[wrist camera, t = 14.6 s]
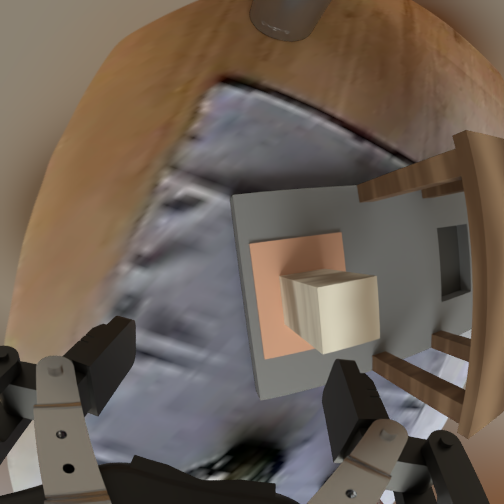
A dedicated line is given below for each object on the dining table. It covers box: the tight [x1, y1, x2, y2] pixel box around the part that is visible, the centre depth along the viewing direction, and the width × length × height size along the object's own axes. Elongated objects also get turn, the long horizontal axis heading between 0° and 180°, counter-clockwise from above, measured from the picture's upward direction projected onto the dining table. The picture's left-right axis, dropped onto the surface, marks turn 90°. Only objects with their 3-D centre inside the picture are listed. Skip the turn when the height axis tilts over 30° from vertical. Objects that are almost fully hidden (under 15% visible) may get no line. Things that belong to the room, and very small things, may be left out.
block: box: [279, 269, 380, 354], centre depth 26 cm, size 5×5×10 cm
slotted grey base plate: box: [230, 185, 473, 400], centre depth 35 cm, size 36×22×3 cm, turn 97°
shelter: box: [357, 130, 504, 439], centre depth 26 cm, size 12×24×17 cm, turn 7°
